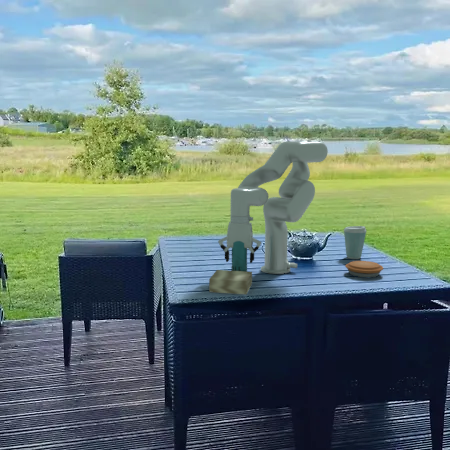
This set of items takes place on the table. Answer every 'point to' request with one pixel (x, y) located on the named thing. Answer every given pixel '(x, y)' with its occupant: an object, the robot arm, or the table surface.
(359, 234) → the disposable coffee cup
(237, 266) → the beverage bottle
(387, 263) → the table surface
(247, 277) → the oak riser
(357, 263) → the pie
